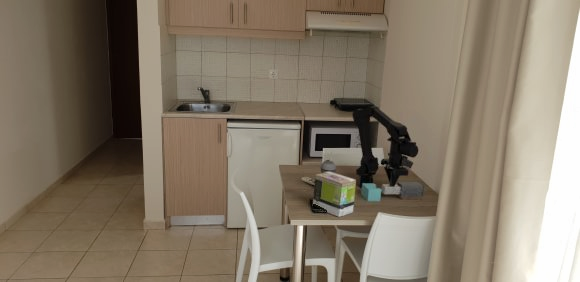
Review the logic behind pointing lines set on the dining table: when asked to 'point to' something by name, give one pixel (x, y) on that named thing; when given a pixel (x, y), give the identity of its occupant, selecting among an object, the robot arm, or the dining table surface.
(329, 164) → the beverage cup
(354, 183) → the tea box
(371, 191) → the socket block
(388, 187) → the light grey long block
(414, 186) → the sleeve
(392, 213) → the dining table surface
